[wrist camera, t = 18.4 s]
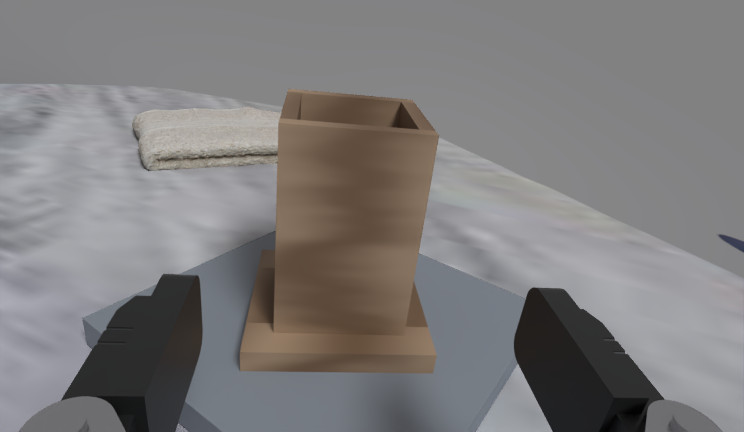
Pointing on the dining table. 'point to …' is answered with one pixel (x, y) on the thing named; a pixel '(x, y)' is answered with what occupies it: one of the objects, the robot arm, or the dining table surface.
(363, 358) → the flanged sleeve
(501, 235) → the dining table surface
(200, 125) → the washcloth
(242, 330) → the post plate
